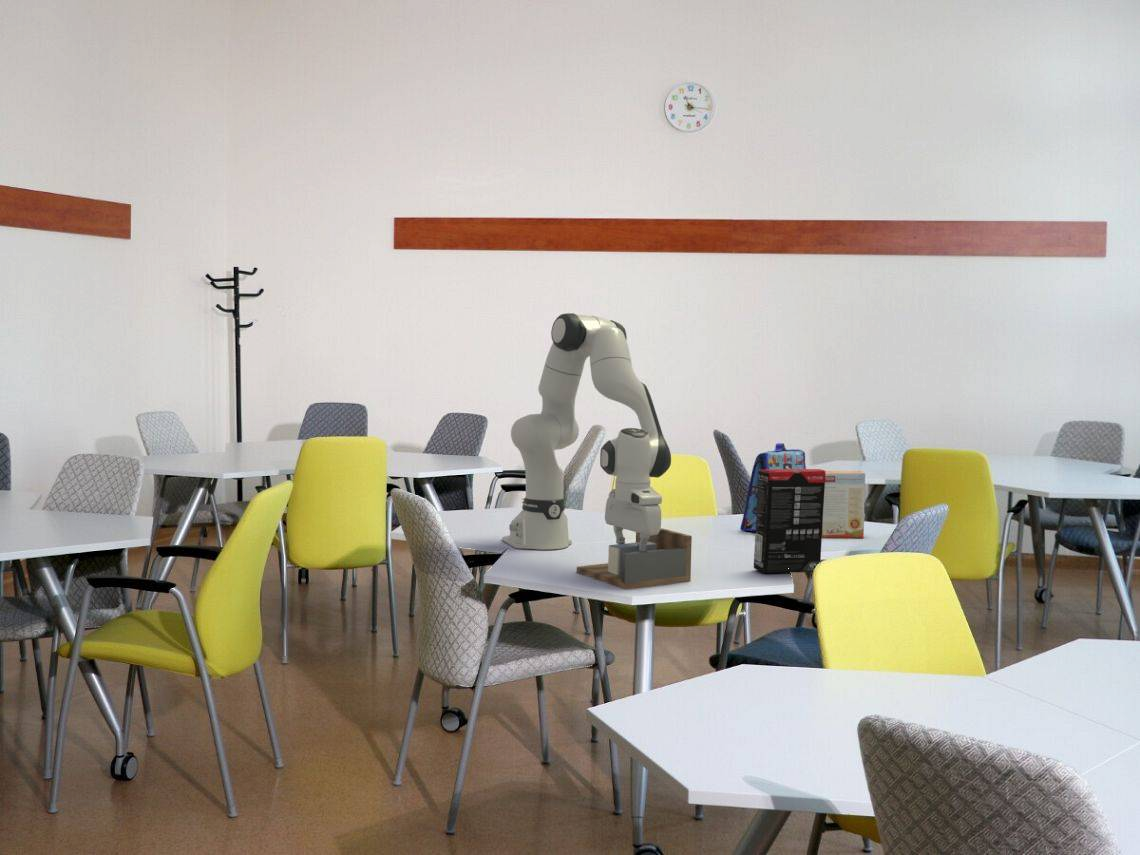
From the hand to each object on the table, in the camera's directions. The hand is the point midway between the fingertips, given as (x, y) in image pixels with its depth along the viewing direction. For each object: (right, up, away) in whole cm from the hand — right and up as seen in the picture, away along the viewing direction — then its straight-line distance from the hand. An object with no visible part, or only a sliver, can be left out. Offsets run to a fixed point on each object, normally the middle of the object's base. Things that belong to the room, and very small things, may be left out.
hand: (630, 547), depth 265 cm
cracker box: (+70, -5, +68) cm, 98 cm away
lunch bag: (+52, -4, +78) cm, 94 cm away
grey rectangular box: (0, -6, +1) cm, 6 cm away
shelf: (+1, -8, +2) cm, 8 cm away
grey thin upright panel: (+5, -7, -7) cm, 11 cm away
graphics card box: (+42, -8, +12) cm, 45 cm away
